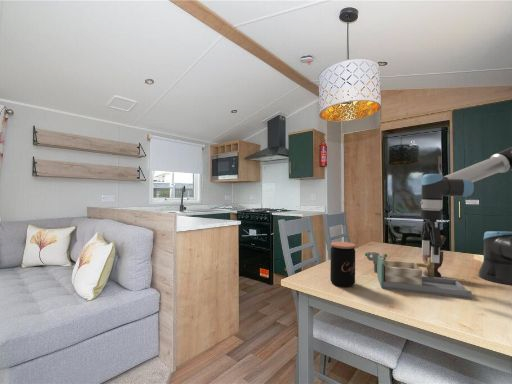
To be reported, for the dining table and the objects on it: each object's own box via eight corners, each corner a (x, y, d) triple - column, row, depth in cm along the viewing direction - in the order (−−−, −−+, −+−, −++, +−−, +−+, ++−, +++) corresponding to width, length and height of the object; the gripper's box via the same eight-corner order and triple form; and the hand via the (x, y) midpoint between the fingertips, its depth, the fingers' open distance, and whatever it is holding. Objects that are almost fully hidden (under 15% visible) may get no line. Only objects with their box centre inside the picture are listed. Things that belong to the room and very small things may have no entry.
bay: (456, 285, 115) (456, 261, 115) (471, 298, 101) (471, 271, 101) (377, 277, 125) (377, 255, 125) (381, 288, 111) (381, 263, 111)
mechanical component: (387, 273, 131) (387, 254, 131) (365, 272, 133) (365, 253, 133) (385, 272, 133) (385, 252, 133) (364, 270, 136) (364, 251, 135)
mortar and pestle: (429, 270, 136) (429, 233, 136) (448, 275, 129) (448, 235, 128) (419, 275, 129) (419, 235, 129) (439, 280, 122) (439, 238, 122)
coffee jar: (342, 289, 109) (343, 247, 109) (325, 281, 119) (325, 242, 119) (360, 285, 114) (360, 245, 114) (342, 278, 124) (342, 240, 124)
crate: (429, 281, 117) (429, 255, 117) (438, 291, 106) (438, 262, 106) (381, 276, 124) (381, 251, 124) (384, 285, 112) (385, 257, 112)
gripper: (414, 207, 124) (413, 251, 125) (430, 211, 101) (428, 265, 101) (432, 208, 122) (431, 252, 122) (452, 212, 98) (451, 267, 99)
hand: (430, 258), depth 112 cm, fingers open, 13 cm apart
